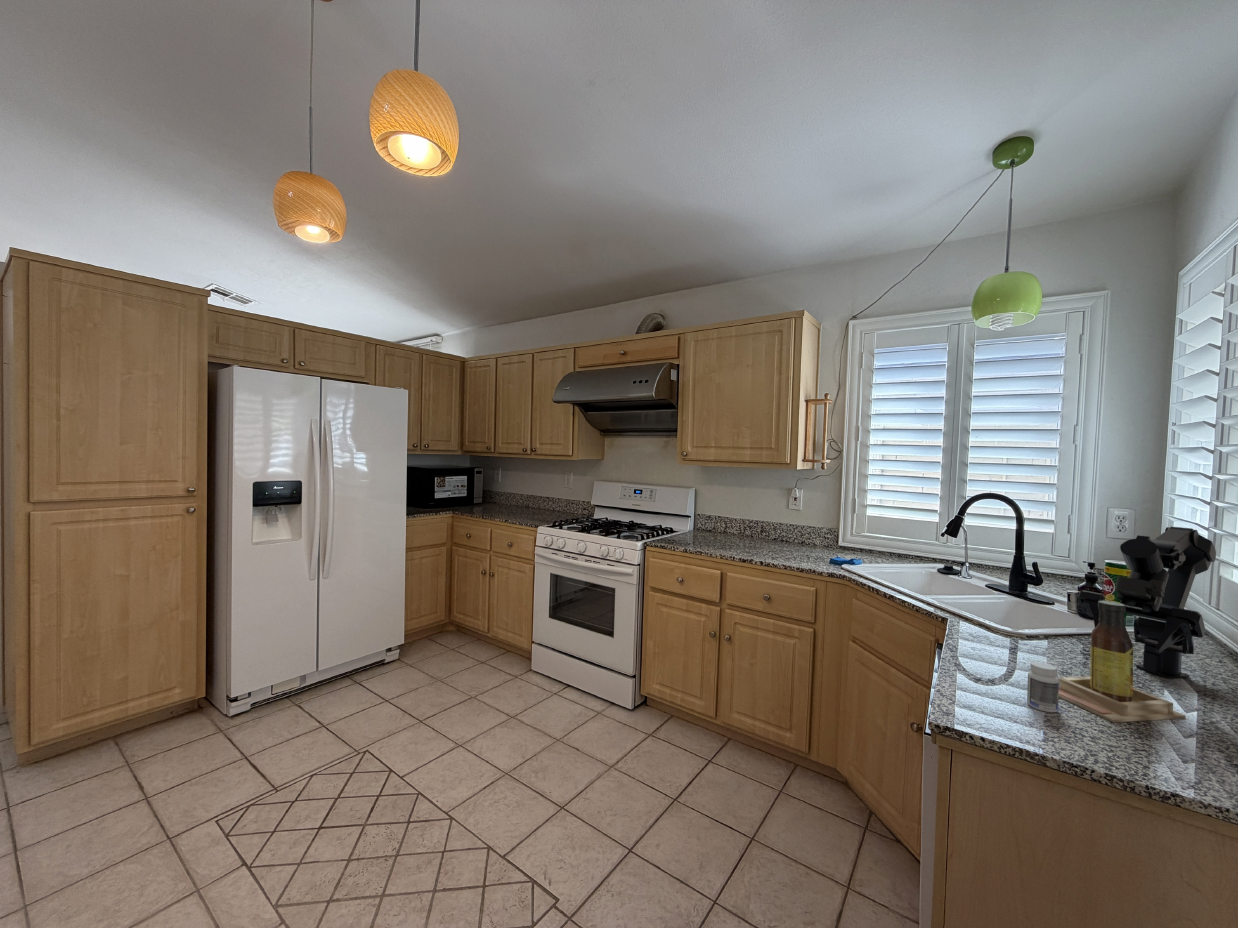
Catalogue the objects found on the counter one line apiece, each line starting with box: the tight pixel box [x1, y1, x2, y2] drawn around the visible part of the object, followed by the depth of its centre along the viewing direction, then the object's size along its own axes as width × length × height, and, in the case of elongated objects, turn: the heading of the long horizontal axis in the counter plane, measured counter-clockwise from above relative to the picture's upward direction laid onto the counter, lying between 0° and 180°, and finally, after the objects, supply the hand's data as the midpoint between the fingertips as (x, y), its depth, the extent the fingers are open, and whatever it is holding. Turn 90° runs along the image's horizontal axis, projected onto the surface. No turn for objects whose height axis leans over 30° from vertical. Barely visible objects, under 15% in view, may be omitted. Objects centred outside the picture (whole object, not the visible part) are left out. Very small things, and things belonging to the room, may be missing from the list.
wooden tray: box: [1057, 676, 1186, 723], centre depth 100 cm, size 17×14×2 cm
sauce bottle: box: [1089, 600, 1134, 702], centre depth 100 cm, size 6×6×20 cm
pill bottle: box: [1026, 661, 1060, 713], centre depth 97 cm, size 5×5×8 cm
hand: (1126, 643), depth 103 cm, fingers open, 9 cm apart
